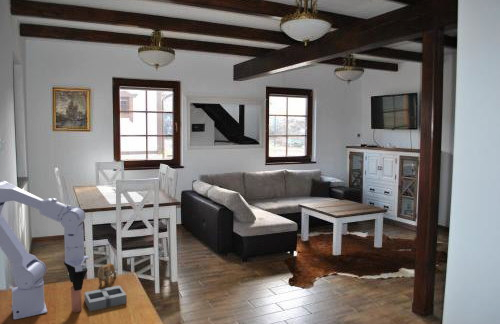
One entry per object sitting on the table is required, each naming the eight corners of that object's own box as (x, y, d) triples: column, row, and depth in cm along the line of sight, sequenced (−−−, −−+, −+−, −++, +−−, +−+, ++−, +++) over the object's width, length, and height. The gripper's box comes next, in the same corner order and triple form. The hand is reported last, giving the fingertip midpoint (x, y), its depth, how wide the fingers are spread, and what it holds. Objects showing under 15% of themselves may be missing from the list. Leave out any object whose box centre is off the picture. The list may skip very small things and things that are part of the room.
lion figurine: (110, 291, 151) (110, 267, 150) (95, 291, 151) (94, 268, 149) (117, 275, 166) (117, 253, 165) (103, 275, 165) (103, 254, 164)
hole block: (89, 311, 136) (89, 302, 135) (84, 300, 143) (84, 292, 143) (126, 303, 142) (126, 294, 141) (119, 293, 149) (119, 285, 149)
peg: (72, 313, 134) (71, 289, 133) (71, 309, 137) (70, 286, 136) (82, 311, 136) (81, 287, 135) (80, 307, 138) (80, 284, 137)
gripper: (91, 249, 130) (93, 291, 131) (83, 237, 142) (84, 275, 144) (67, 253, 126) (69, 296, 128) (61, 240, 138) (62, 279, 140)
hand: (76, 285), depth 135 cm, fingers open, 7 cm apart
